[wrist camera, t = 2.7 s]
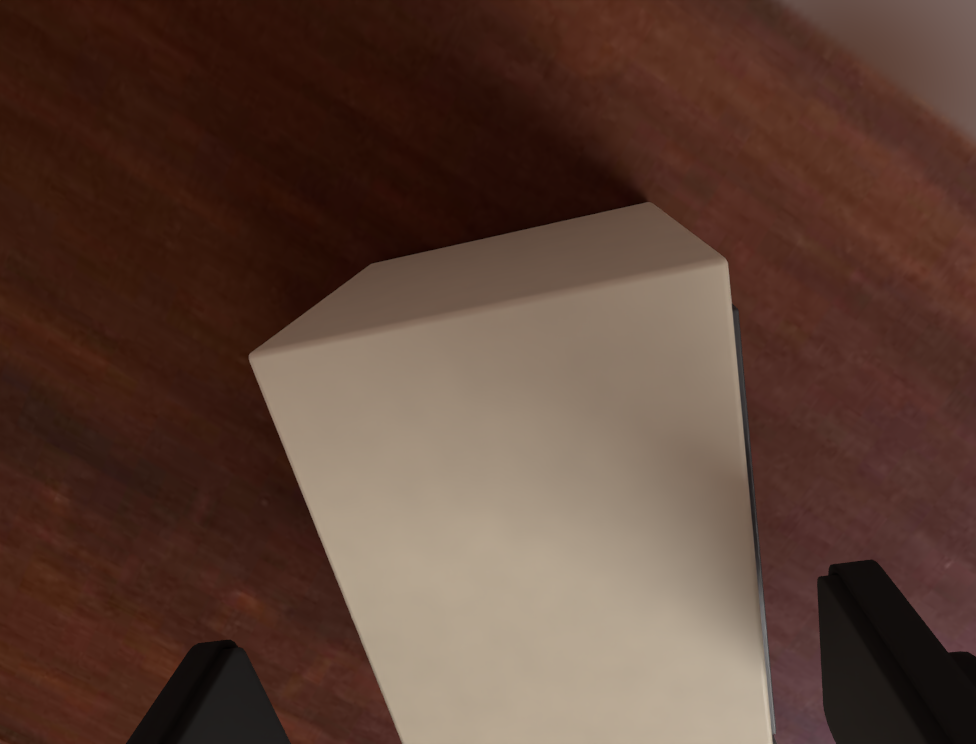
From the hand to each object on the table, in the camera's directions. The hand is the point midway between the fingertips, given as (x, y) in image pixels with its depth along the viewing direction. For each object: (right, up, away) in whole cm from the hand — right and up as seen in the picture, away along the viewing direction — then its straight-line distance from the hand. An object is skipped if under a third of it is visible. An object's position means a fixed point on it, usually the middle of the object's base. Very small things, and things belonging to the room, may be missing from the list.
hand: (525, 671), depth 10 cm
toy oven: (+1, +2, +6) cm, 6 cm away
